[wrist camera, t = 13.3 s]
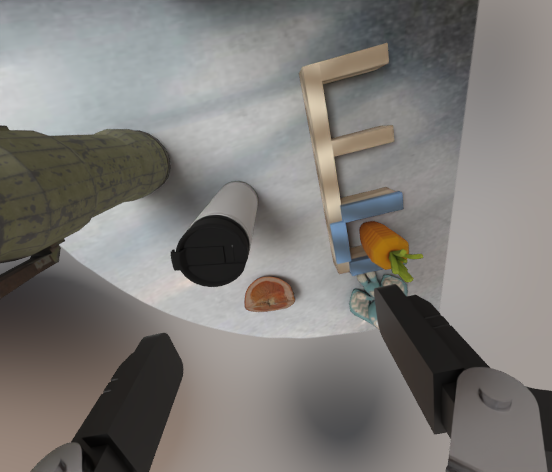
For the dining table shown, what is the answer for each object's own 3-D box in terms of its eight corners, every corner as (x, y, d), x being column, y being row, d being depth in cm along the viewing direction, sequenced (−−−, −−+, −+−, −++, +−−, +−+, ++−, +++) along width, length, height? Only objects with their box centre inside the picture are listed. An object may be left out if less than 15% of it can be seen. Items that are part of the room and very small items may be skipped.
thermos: (133, 208, 41) (-388, 508, 9) (91, 130, 37) (-1289, 143, 4) (185, 191, 40) (-175, 453, 8) (148, 109, 36) (-1038, -77, 3)
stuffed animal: (403, 266, 40) (435, 328, 42) (387, 252, 47) (415, 307, 49) (339, 296, 42) (373, 355, 44) (333, 279, 49) (362, 330, 50)
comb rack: (298, 73, 34) (302, 65, 30) (376, 51, 34) (393, 39, 29) (333, 263, 45) (340, 278, 41) (392, 250, 45) (406, 264, 40)
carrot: (353, 208, 42) (394, 247, 28) (383, 213, 42) (438, 254, 28) (345, 236, 43) (379, 286, 30) (373, 241, 44) (420, 292, 30)
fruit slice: (290, 269, 46) (293, 285, 41) (295, 301, 48) (297, 319, 44) (243, 275, 46) (240, 291, 41) (250, 306, 49) (248, 325, 44)
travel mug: (213, 181, 40) (162, 227, 21) (256, 180, 40) (244, 224, 21) (218, 220, 42) (176, 292, 23) (259, 219, 42) (249, 289, 23)
